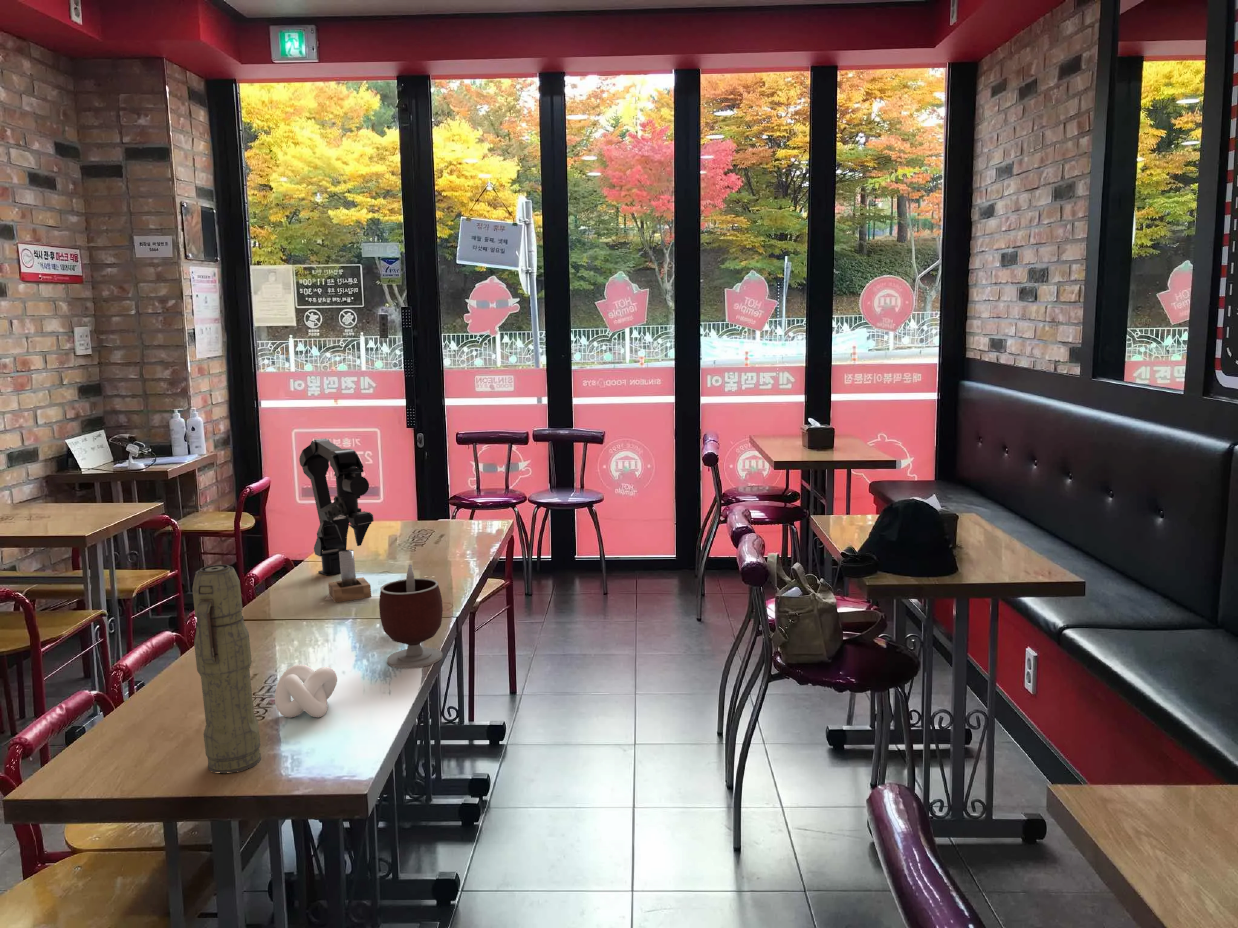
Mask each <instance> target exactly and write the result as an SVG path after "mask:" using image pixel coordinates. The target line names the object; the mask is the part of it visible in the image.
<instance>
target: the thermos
mask: <svg viewBox="0 0 1238 928" xmlns="http://www.w3.org/2000/svg"><path fill="white" fill-rule="evenodd" d="M240 581H241V580H240V579H239V577H238V574H237V571H236V570H235V568H234V567H233V566H230V565H228V564H213V565H208V566H204V567H201V568H199V569H198V570H197V571H195V575H194V579H193V582H192V583H193V584H192V599H193V607H194V609H193V610H194V616H195V617H196V623H195V625H196V628H195V629H196V631H195V636H194V639H193V645H194V654H195V663H196V671H197V673H198V674H199V676H200V680H201V681H200V683H201V689H202V699H203V708H204V717H205V718H204V720H205V726H204V730H203V731H204V732H203V740H204V750H205V751H204V752H205V756H206V757H207V763H208V764H207V768H208V769H209V770H210V771H213V772H220V773H227V772H237V771H241V772H244V771H246V770H245V769H247V770H249V769H251V768H253V767H256V765H258V764H259V763H260V762H261V760H262V757H261V752H260V751H261V750H260V747H261V738H260V737H261V736H260V728H259V726H260V725H259V720H258V718H257V717H256V715H255V709H254V699H253V690H252V681H251V672H250V671H251V666H252V662H253V661H252V652H251V651H252V650H251V641H250V632H249V629H248V628H247V625H246V624H245V620H244V619H245V618H244V616H243V609H244V608H243V602H242V601H243V600H242V591H241V582H240ZM257 763H258V764H257ZM248 768H249V769H248ZM208 769H207V770H208ZM209 770H208V771H209ZM243 770H244V771H243ZM210 771H209V772H210ZM237 773H238V772H237Z"/></svg>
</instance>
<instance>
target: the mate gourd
mask: <svg viewBox="0 0 1238 928" xmlns="http://www.w3.org/2000/svg"><path fill="white" fill-rule="evenodd" d="M440 589H441V588H440V587H439V582H438V581H437V580H435V579H432V578H420V577H419V578H415V575H414V570H413V565H412V564H411V563H410V564H408V568H407V573H406V579H398V580H395V581H391V582H388V583H385V584H384V585H381V586H380V593H379V601H378V606H379V607H378V608H379V618H380V622H381V626H382V629H383V632H384V633H385V634H386V635H387V636H388V637H389V638H390V639H391V641H393V642H394V643H395V642H396V643H399V644H403V645H407V648H405V649H401V650H398V651H395V652H392V653H391V654H390V655H389V656H388V657H387V659H386V660H387V661H386V662H387V665H389V666H391V667H393V668H397V669H417V668H423V667H427V666H431V665H434V664H435V663H438V662H439V661H441V659H442V658H443V652H442V650H440V649H439V648H435V647H425V646H424V647H423V646H421V643H423V642H426V641H427V640H429V639H431V638H433V637H434V636H436V634H437V633H438V631H439V629H440V628H441V625H442V621H443V611H444V608H443V597H442V593H441V590H440Z"/></svg>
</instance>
